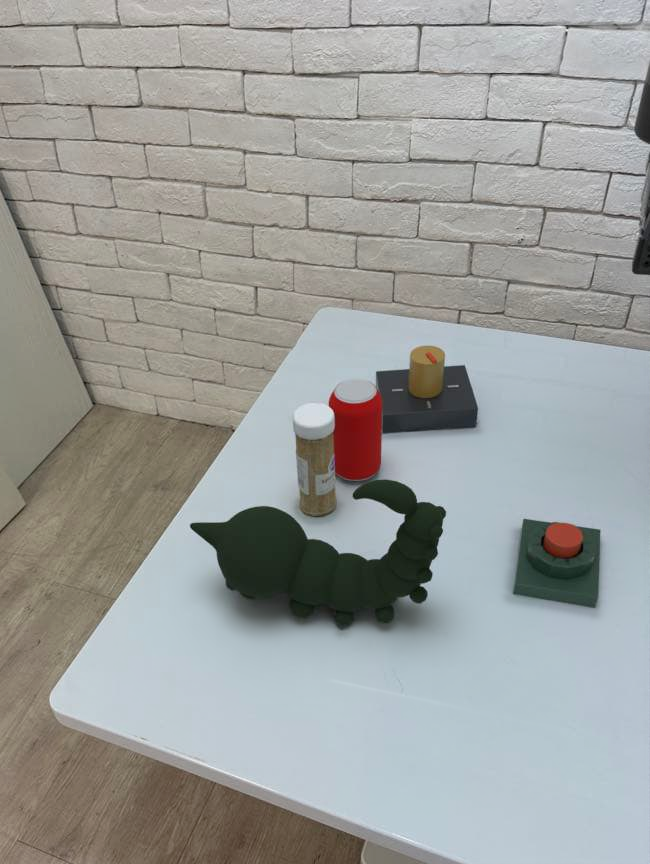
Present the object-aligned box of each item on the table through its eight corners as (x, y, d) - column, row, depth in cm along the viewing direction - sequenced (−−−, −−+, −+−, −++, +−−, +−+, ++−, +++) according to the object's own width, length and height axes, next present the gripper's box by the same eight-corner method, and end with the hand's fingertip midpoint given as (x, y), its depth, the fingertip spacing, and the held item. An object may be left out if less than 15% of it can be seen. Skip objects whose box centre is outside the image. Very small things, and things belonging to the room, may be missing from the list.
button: (544, 531, 85) (547, 519, 84) (580, 537, 84) (583, 525, 83) (542, 555, 83) (544, 543, 82) (579, 561, 82) (582, 549, 80)
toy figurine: (425, 593, 87) (207, 547, 92) (457, 460, 73) (199, 415, 78) (413, 662, 81) (180, 609, 86) (445, 531, 67) (165, 477, 72)
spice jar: (336, 517, 94) (334, 425, 85) (297, 517, 95) (291, 426, 86) (336, 491, 98) (334, 400, 88) (299, 491, 98) (293, 401, 89)
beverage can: (379, 486, 97) (381, 405, 89) (328, 485, 99) (325, 405, 90) (381, 454, 102) (383, 374, 93) (332, 453, 103) (330, 374, 94)
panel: (462, 383, 111) (465, 363, 108) (475, 427, 104) (478, 407, 101) (375, 389, 112) (375, 370, 109) (382, 433, 105) (383, 413, 102)
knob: (402, 383, 107) (404, 348, 103) (433, 376, 107) (436, 340, 103) (416, 401, 104) (419, 365, 100) (448, 393, 104) (451, 357, 100)
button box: (521, 529, 90) (525, 506, 88) (597, 540, 88) (604, 517, 85) (512, 594, 84) (517, 572, 81) (594, 608, 81) (602, 585, 79)
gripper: (754, 101, 61) (688, 307, 73) (739, 50, 70) (682, 242, 82) (647, 102, 63) (600, 302, 75) (645, 52, 72) (603, 239, 84)
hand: (643, 270), depth 79 cm, fingers closed
